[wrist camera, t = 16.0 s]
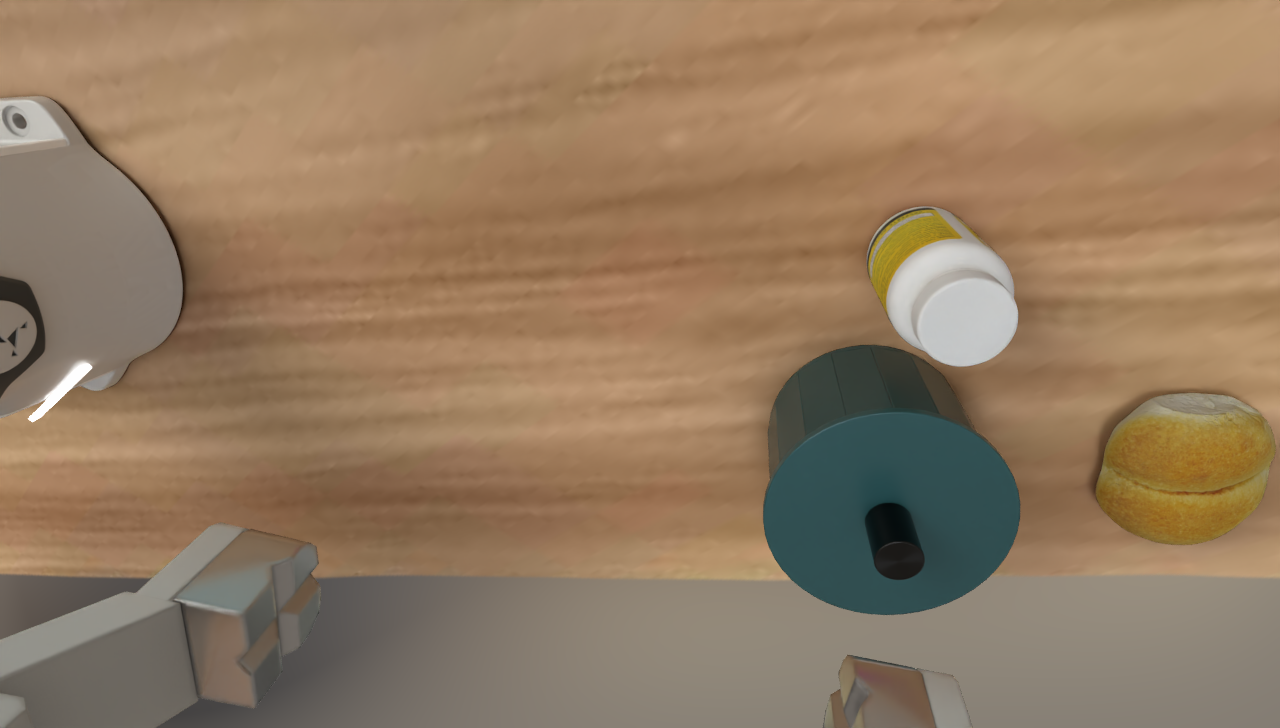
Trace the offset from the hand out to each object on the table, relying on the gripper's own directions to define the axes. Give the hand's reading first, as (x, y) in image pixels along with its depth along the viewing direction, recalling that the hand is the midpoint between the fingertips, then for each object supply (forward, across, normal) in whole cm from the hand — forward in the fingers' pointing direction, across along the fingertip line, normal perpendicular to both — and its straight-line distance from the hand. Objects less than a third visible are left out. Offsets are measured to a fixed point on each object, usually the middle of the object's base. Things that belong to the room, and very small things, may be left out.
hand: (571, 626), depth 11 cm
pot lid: (+23, -12, +12) cm, 28 cm away
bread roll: (+31, -29, +10) cm, 44 cm away
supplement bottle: (+31, -12, +1) cm, 34 cm away
